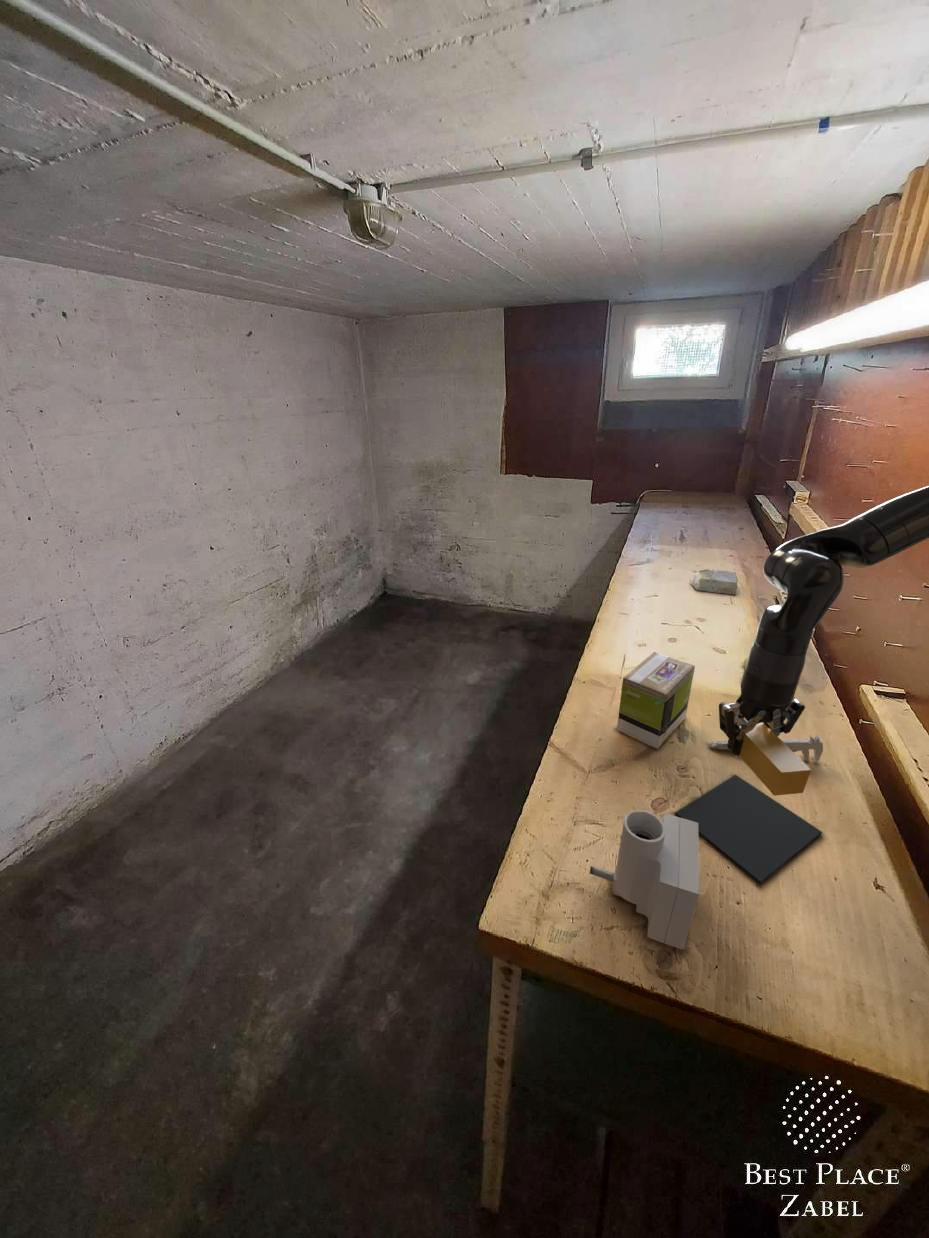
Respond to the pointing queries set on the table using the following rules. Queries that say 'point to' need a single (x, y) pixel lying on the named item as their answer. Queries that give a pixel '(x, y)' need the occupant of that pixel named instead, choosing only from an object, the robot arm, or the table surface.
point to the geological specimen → (715, 581)
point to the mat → (749, 827)
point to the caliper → (792, 746)
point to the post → (774, 762)
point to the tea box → (655, 698)
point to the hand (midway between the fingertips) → (748, 750)
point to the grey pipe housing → (658, 873)
